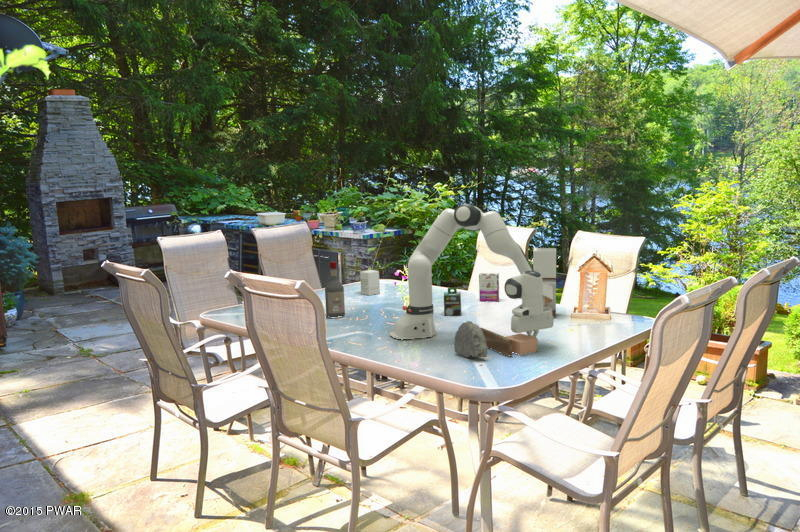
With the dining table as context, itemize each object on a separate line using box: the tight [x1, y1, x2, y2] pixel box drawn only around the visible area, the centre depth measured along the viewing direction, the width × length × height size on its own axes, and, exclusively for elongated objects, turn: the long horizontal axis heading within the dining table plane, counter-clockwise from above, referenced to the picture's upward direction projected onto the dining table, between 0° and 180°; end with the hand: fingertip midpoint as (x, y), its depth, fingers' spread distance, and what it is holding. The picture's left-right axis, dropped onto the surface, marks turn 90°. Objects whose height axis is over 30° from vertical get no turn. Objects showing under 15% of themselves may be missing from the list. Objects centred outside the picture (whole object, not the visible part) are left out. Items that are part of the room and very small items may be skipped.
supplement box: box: [359, 269, 381, 296], centre depth 402 cm, size 9×9×15 cm
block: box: [505, 333, 538, 356], centre depth 268 cm, size 10×10×6 cm
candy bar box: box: [478, 272, 500, 302], centre depth 370 cm, size 11×5×16 cm, turn 73°
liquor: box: [324, 261, 346, 318], centre depth 341 cm, size 9×9×30 cm
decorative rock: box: [453, 320, 488, 359], centre depth 262 cm, size 16×7×15 cm, turn 33°
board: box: [480, 327, 513, 357], centre depth 272 cm, size 2×24×7 cm, turn 25°
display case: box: [532, 247, 557, 319], centre depth 328 cm, size 11×11×35 cm
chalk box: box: [443, 287, 462, 317], centre depth 340 cm, size 9×9×15 cm
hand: (532, 340), depth 272 cm, fingers closed
